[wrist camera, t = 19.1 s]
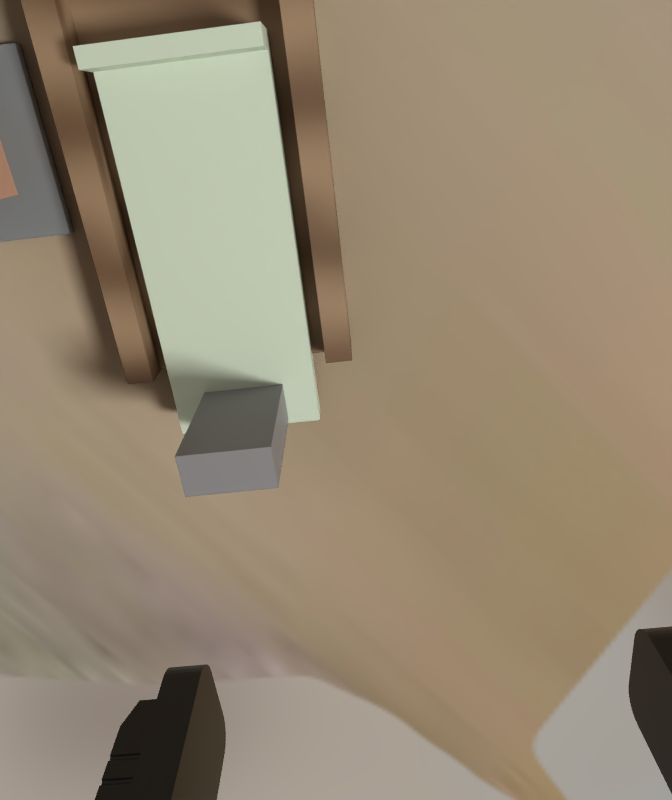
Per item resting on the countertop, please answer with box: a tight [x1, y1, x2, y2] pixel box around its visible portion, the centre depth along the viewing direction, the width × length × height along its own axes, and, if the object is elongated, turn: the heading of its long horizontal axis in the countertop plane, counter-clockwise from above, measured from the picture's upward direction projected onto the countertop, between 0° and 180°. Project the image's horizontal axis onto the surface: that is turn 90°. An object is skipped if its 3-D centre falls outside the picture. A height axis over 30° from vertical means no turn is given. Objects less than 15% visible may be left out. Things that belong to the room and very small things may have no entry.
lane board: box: [21, 0, 352, 384], centre depth 33 cm, size 30×14×3 cm, turn 6°
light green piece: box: [73, 21, 320, 497], centre depth 33 cm, size 22×9×9 cm, turn 6°
